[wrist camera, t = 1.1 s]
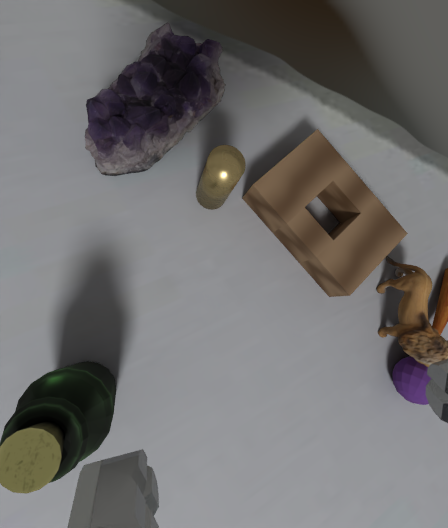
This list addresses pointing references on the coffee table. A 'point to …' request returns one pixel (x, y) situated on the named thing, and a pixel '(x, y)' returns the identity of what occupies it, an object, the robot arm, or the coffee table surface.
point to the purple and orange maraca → (412, 372)
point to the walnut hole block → (339, 204)
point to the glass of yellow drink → (220, 176)
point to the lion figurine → (414, 316)
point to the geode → (153, 102)
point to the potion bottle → (56, 425)
